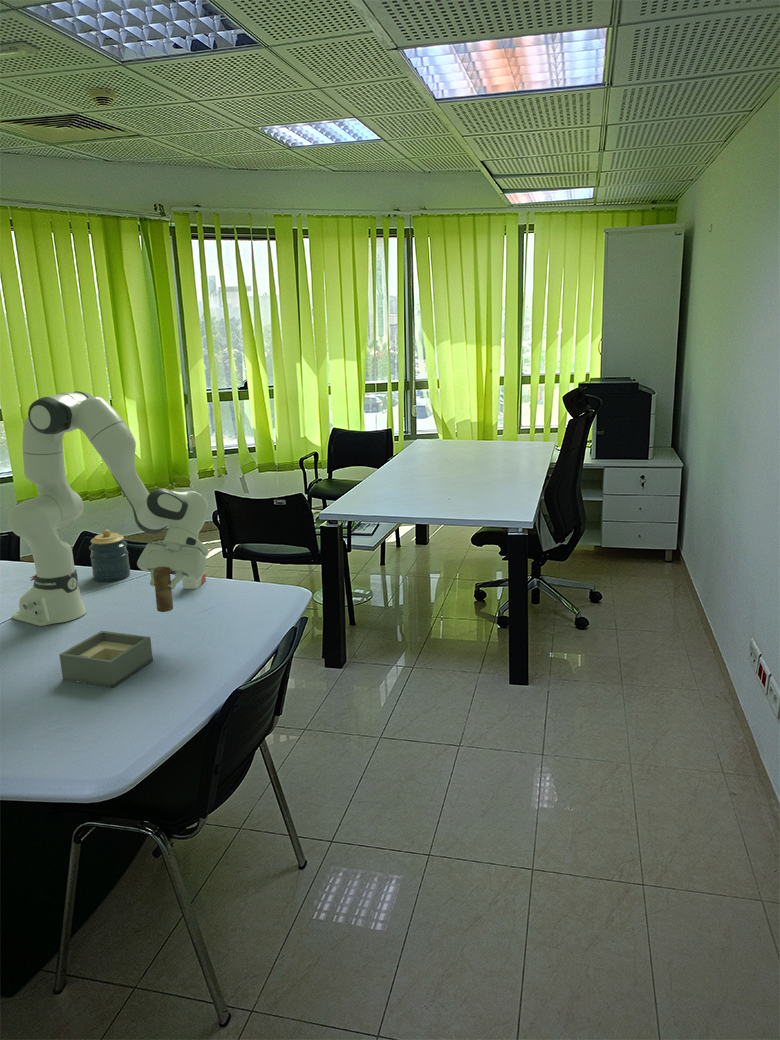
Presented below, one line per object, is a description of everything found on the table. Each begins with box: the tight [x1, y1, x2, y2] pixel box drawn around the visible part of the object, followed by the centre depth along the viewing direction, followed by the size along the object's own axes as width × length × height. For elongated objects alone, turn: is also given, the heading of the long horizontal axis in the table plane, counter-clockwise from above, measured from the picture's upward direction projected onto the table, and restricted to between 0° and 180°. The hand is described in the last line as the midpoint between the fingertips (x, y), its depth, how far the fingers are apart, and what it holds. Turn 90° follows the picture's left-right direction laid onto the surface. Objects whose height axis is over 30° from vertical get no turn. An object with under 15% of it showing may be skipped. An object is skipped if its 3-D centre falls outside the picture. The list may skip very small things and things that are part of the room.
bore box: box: [58, 630, 154, 689], centre depth 200 cm, size 16×16×7 cm
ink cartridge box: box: [181, 568, 207, 590], centre depth 262 cm, size 9×5×15 cm, turn 168°
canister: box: [88, 529, 131, 583], centre depth 273 cm, size 13×13×18 cm
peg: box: [153, 567, 174, 613], centre depth 213 cm, size 4×4×12 cm
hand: (161, 586), depth 212 cm, fingers closed on peg, 4 cm apart
